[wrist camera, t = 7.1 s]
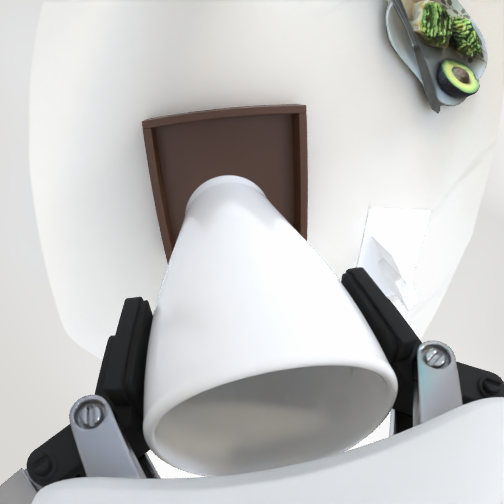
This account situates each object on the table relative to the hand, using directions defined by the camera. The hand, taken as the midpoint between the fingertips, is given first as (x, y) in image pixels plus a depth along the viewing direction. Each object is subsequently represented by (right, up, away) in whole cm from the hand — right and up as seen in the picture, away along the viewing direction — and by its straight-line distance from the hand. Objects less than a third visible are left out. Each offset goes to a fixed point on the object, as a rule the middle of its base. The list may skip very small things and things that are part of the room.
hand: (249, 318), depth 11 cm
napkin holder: (+20, +2, +30) cm, 36 cm away
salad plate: (+24, +29, +16) cm, 41 cm away
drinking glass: (-2, +5, +9) cm, 10 cm away
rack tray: (-2, +10, +22) cm, 24 cm away
